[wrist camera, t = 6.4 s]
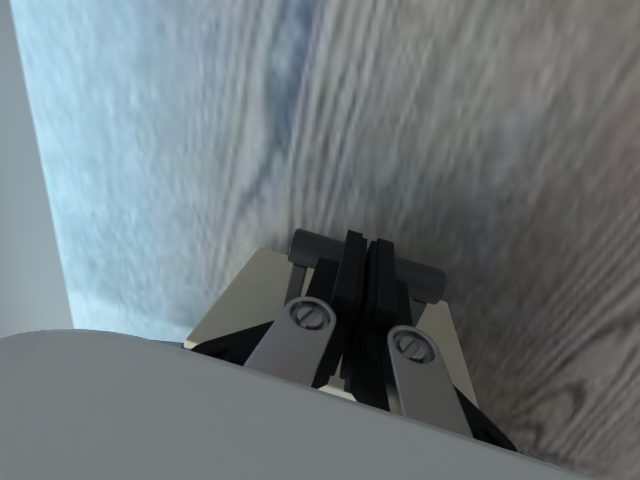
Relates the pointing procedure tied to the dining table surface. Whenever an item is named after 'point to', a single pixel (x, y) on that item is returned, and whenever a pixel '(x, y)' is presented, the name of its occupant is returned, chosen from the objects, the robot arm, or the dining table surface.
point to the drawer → (292, 281)
